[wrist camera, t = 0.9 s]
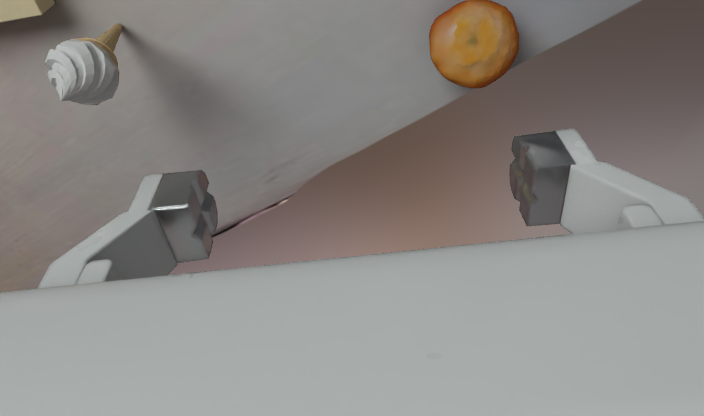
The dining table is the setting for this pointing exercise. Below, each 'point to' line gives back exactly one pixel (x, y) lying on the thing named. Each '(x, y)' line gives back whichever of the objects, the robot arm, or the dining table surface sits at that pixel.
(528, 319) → the robot arm
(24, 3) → the hob
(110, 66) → the ice cream cone
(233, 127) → the dining table surface
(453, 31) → the fruit
